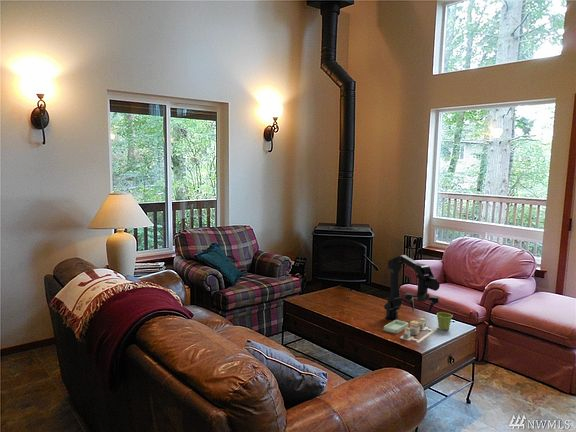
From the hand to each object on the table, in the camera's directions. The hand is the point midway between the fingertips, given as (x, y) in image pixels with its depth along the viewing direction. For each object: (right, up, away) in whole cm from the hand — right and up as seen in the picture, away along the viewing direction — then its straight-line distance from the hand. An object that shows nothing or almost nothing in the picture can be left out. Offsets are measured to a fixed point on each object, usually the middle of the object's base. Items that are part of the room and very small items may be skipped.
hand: (421, 311), depth 247 cm
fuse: (-4, -13, -1) cm, 13 cm away
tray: (-14, -12, +6) cm, 19 cm away
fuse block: (-2, -13, -2) cm, 13 cm away
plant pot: (+16, -12, +8) cm, 22 cm away
